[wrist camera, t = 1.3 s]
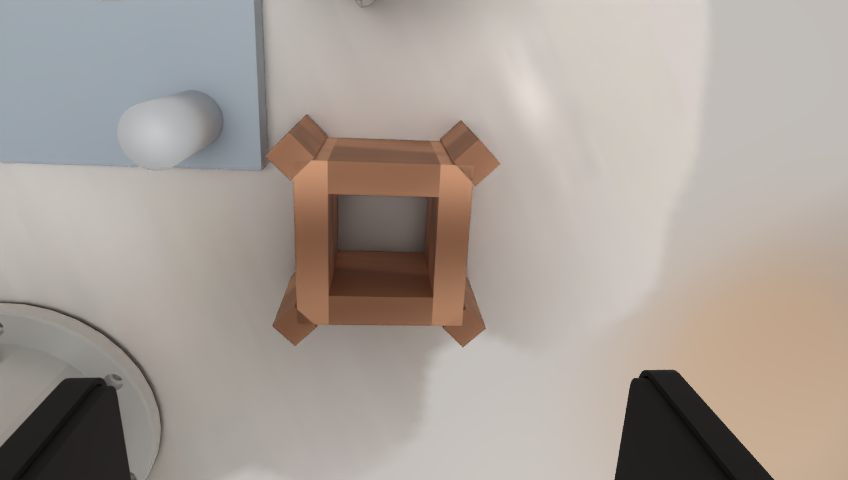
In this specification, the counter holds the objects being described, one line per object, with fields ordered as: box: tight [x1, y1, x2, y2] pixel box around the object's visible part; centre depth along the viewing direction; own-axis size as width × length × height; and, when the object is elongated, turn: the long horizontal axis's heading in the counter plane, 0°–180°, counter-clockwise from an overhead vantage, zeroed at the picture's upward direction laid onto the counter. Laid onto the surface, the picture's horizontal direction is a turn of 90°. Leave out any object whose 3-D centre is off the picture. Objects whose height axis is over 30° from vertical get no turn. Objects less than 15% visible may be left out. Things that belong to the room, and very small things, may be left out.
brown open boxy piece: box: [266, 115, 500, 347], centre depth 24 cm, size 8×8×5 cm
